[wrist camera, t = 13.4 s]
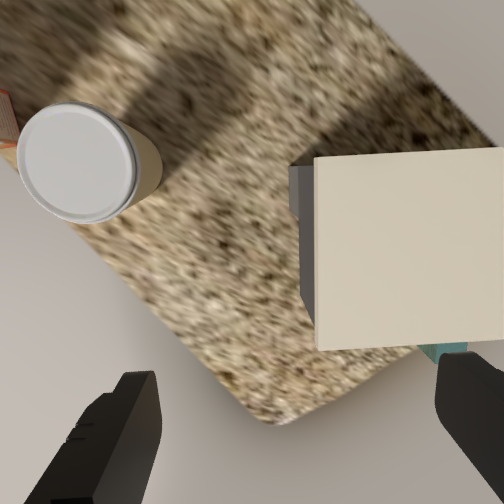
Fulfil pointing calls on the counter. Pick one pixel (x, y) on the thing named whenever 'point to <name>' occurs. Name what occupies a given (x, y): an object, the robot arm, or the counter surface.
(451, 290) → the cabinet
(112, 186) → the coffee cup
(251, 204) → the counter surface
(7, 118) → the cracker box
